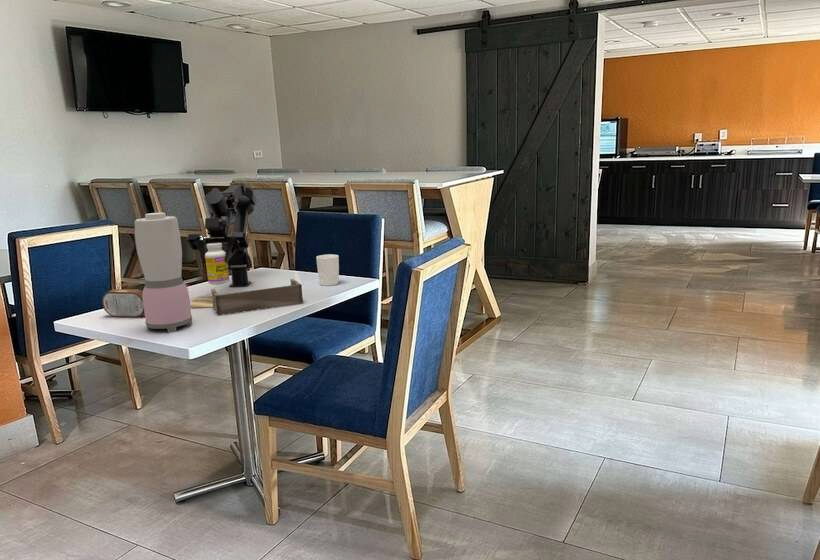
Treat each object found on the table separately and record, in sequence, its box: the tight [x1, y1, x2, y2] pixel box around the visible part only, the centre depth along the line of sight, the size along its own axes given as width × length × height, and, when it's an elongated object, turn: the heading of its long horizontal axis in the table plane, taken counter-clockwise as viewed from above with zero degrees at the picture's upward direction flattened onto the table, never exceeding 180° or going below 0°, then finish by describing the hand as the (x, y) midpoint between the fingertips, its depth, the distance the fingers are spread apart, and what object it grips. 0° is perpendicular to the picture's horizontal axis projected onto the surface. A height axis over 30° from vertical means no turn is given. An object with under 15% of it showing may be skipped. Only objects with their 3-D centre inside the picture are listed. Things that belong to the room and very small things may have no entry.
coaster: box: [190, 295, 213, 309], centre depth 201 cm, size 14×14×1 cm
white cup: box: [315, 253, 340, 287], centre depth 221 cm, size 8×8×10 cm
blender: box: [133, 212, 193, 333], centre depth 173 cm, size 16×12×32 cm
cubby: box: [211, 278, 304, 316], centre depth 194 cm, size 10×26×6 cm, turn 114°
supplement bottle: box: [205, 243, 230, 286], centre depth 199 cm, size 7×7×13 cm
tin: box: [101, 288, 145, 318], centre depth 188 cm, size 15×3×8 cm, turn 78°
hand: (214, 262), depth 198 cm, fingers closed on supplement bottle, 7 cm apart
